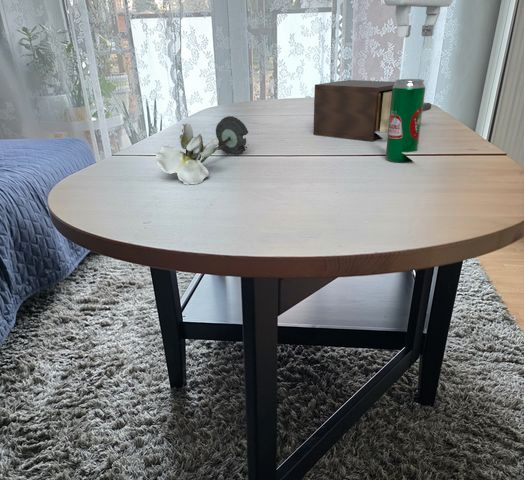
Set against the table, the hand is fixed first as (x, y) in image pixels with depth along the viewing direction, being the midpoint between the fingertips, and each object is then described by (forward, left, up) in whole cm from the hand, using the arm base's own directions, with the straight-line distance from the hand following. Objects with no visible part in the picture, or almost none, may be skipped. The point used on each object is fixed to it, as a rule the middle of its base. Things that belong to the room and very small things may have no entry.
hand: (415, 36), depth 93 cm
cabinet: (+8, -8, -18) cm, 21 cm away
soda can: (+6, +19, -18) cm, 27 cm away
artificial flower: (+38, +21, -18) cm, 47 cm away
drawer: (+4, -5, -17) cm, 18 cm away
